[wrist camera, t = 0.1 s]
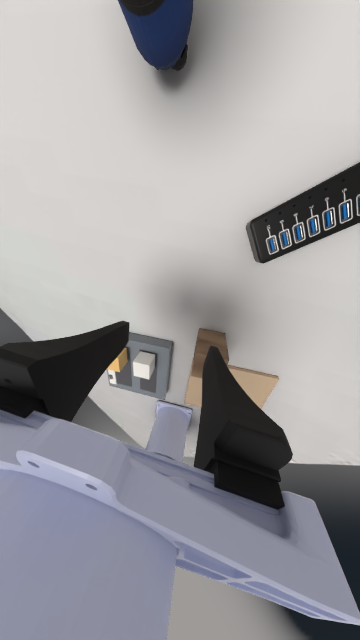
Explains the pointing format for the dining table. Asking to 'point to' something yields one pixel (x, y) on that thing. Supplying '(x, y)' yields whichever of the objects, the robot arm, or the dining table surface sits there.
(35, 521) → the robot arm
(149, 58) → the flashlight
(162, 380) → the switch panel
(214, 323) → the dining table surface
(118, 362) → the switch tab
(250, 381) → the mat
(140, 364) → the switch tab
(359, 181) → the multiport hub
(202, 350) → the block
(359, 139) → the dining table surface
